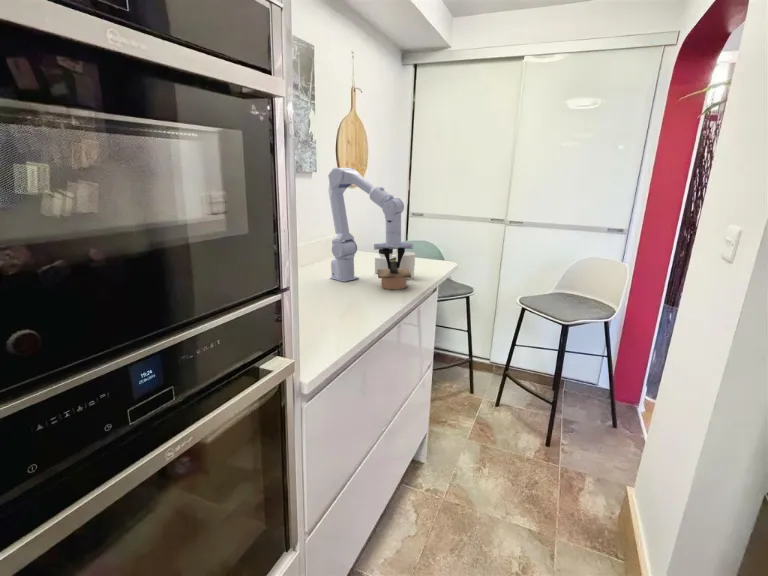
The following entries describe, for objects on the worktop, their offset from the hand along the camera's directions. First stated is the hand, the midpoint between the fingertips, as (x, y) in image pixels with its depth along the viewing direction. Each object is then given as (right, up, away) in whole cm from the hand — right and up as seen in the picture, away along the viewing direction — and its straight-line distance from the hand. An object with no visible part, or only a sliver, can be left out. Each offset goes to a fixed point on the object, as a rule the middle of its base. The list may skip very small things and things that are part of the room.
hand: (393, 268), depth 161 cm
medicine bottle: (-3, -1, +24) cm, 25 cm away
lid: (0, -2, 0) cm, 3 cm away
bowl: (0, -7, +2) cm, 7 cm away
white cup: (+5, -3, +16) cm, 17 cm away
